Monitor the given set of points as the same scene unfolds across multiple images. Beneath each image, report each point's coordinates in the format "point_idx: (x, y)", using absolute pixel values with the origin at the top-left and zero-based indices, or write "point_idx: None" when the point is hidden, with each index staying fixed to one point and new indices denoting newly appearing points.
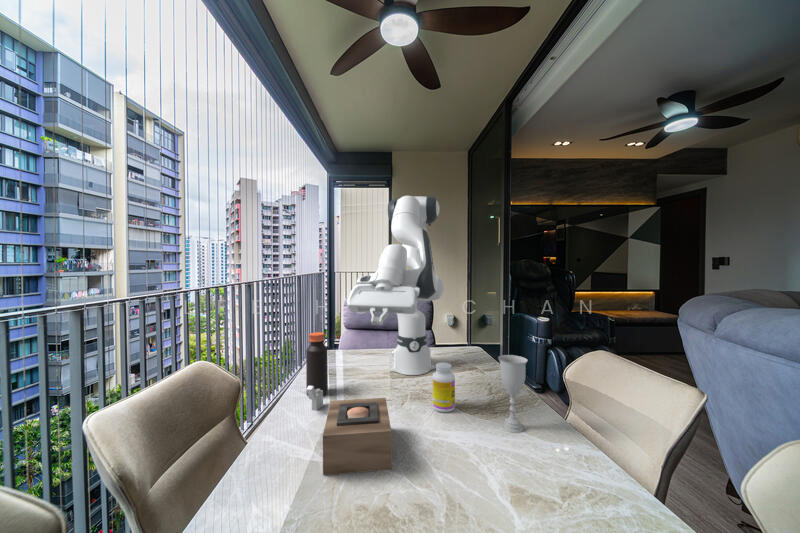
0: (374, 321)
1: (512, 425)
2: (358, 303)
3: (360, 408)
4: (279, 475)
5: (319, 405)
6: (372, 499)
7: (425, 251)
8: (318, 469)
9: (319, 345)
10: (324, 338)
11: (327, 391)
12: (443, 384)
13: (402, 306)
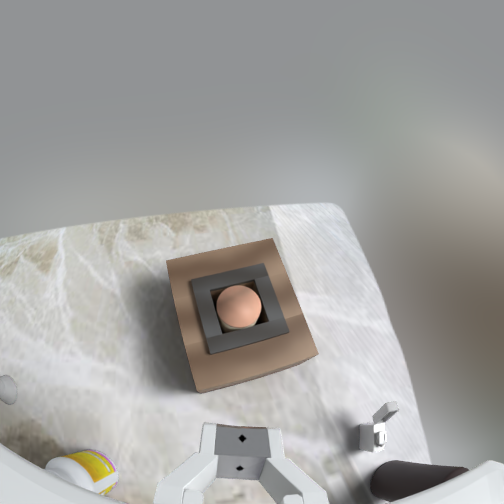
0: (252, 427)
1: (4, 378)
2: (447, 492)
3: (238, 320)
4: (315, 260)
5: (361, 434)
6: (191, 239)
7: None
8: None
9: None
10: None
11: (372, 489)
12: (70, 457)
13: (16, 454)
